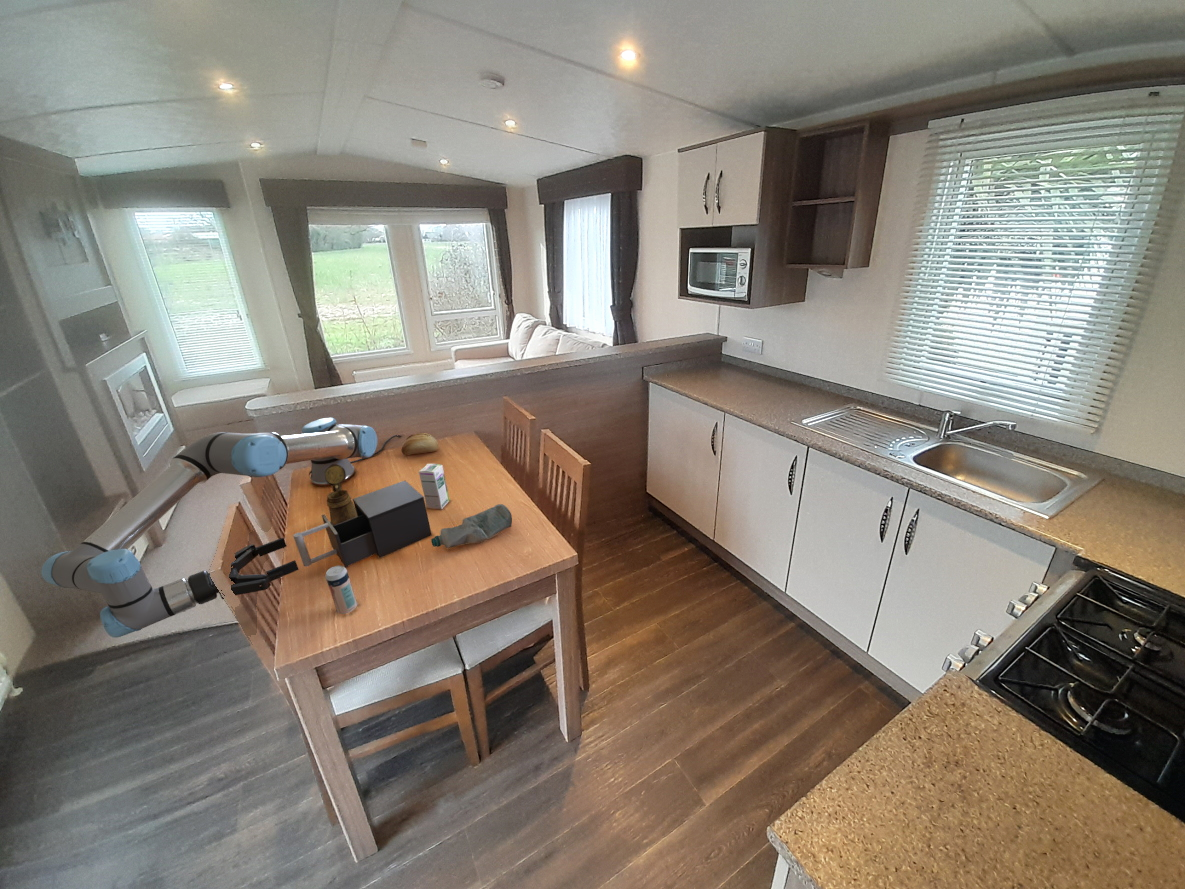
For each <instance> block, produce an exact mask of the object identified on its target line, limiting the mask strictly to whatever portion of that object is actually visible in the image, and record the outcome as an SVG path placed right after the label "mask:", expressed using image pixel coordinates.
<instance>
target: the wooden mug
mask: <svg viewBox="0 0 1185 889" xmlns="http://www.w3.org/2000/svg"><path fill="white" fill-rule="evenodd" d="M345 477H346V473H345V470H344V468H343V467H341V466H340V465H337V464H334V463H333V464H332V465H331V466H329V467H328V468H327V470H326V471H325V479H326V481H327V483H329V484H331V485H332V486H331V487H332V492H330V493H328V494H327V495H326V506H327V507H328V511H329V518H330V520H329V521H330V523H331V524H332V526H333V525H336V524H339V523H341V522H344V521H347V520H349V519H352V518H355V517H357V513H356V509H355V506H354V502H353V499H352V496H351V495H350V493H349V491H348V490H345V489H343V488H342V484H343V483H342V482H343V481H344V479H345Z"/></svg>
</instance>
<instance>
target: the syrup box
mask: <svg viewBox="0 0 1185 889" xmlns="http://www.w3.org/2000/svg"><path fill="white" fill-rule="evenodd" d="M418 474H419V480H420V484H421V488H422V492H423V497H424V501H425V506H426V509H431V510H432V509H433V510H443V509H444V508H445V507H446V505H448V503H449V502H450V495H449V489H448V486H447V481H446V475H445V471H444V466H443V464H440V463H426V465H425V466H423V467H422V468H421V469H419V471H418Z"/></svg>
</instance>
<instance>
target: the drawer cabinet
mask: <svg viewBox="0 0 1185 889" xmlns="http://www.w3.org/2000/svg"><path fill="white" fill-rule="evenodd" d="M352 502H353V505H354V507H355V509H356V513H357V516H360V515H362V514H364V515H365V516H366V517H367V518H368V520H369V523H370V527H371V531H372V534H373V538H374V542H375V545H376V549H377V554H376V555H377V557H378V558H379V559H381V558H384V557H386V556H388V555H390V554H393V553H396V552H398V551H399V550H402V549H405V548H406V547H408V546H410V545H414V544H415V543H418V542H420V541H423V540H425V539H427V538H429V537H431V536H432V535H433V534H432V530H431V525H430V520H429V515H428V510H427V505H426V501H425V497H424V495H422V494H421V493H420V492H419V491H418V490H417V489H415V488H414V487H413V486H412V485H411V484H410V483H409V482H407V480H401V481H399V482H396V483H394V484H391V485H388V486H385V487H381V488H380V489H376V490H374V491H371V492H368V493H365V494H363V495H359V496H357V497H354V498H352Z"/></svg>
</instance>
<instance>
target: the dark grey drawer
mask: <svg viewBox="0 0 1185 889" xmlns="http://www.w3.org/2000/svg"><path fill="white" fill-rule="evenodd" d="M321 518H322V522H323V524H320V525H317V526H315V527H312V528H310V529H307V530H304V531H301V532H296V533H294V534H292V537H293V540H294V542H295V545H296V548H297V550H298V553H299V556H300V560H301V562H302V564H303V567H305V568H308V567H310V566H312V564H315V563H317V562H319V561H323V560H325V559H326V558H329V557H331V556H332V557H333V556H334V555H336V556H337V557H338V559H339V560H340V563H341V564H342V566H343V567H344V568H346V569H347V568H349V567H350V566H351V565H354V564H356V563H358V562H361V561H363V560H365V559H367V558H370V557H372V556H374V555H377V549H376V545H375V542H374V538H373V534H372V531H371V527H370V523H369V520H368V518H367V517H366V516H365V515H364V514H362V515H360V516H357V517H355V518H352V519H349V520H347V521H344V522H341V523H339V524H336V525H333V526H332V524H331V523H330V521H331V520H329V518H328V517H327V515H326V514H325V513H324V514H321ZM322 530H326V533H327V536H328V540H329V543H330V546H331V548H332V550H330V551H327V552H325V553H322V554H320V555H318V556H315V557H312V558H311V556H310V553H309V551H308V547H307V544H306V542H305V539H304V537H306V536H307V537H308V536H309V535H312V534H315V533H318V532H320V531H322Z"/></svg>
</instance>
